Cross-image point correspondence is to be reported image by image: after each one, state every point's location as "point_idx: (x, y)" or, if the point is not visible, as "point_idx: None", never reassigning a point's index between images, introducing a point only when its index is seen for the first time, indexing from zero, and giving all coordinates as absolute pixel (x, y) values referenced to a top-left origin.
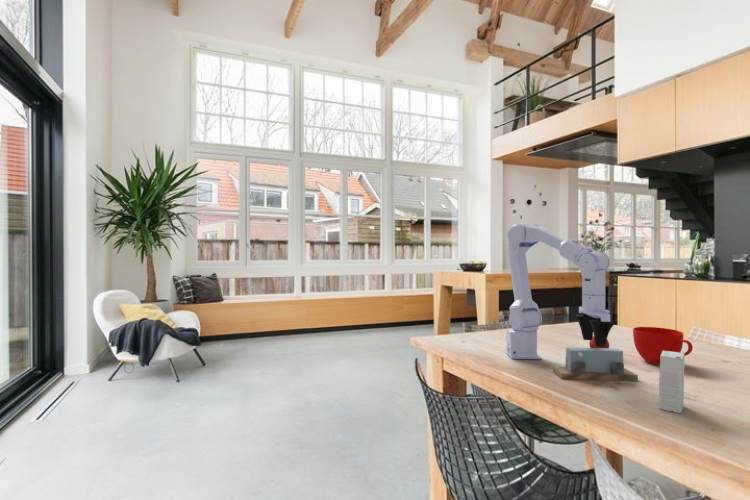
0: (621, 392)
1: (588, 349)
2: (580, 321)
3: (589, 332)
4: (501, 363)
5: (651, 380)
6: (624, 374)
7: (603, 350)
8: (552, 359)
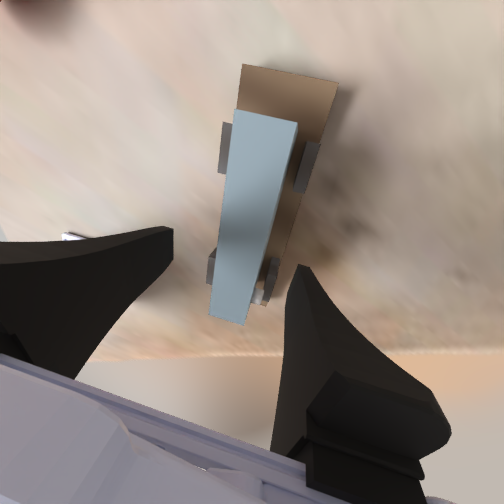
0: (400, 239)
1: (238, 266)
2: (95, 345)
3: (145, 256)
4: (161, 331)
5: (350, 6)
6: (315, 139)
7: (263, 220)
8: (110, 218)
